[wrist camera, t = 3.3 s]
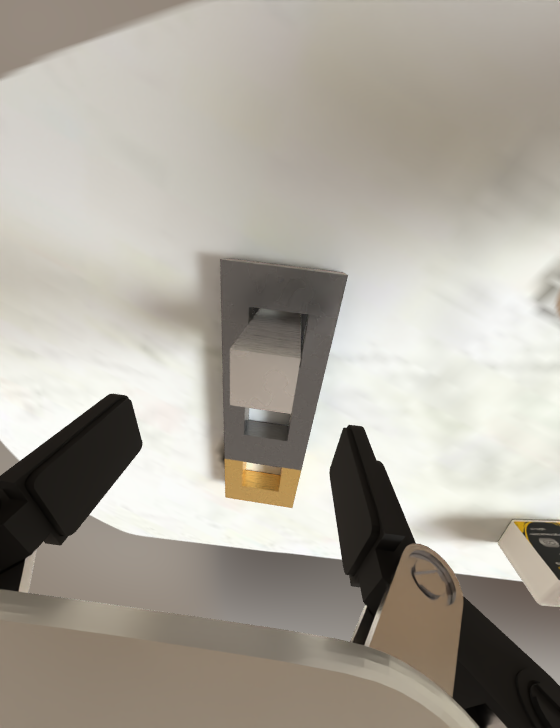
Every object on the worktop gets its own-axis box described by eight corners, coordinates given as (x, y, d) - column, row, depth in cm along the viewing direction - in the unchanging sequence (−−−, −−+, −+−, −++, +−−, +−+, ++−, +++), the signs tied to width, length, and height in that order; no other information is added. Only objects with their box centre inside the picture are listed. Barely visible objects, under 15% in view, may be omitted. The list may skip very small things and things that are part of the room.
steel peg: (260, 307, 21) (229, 348, 12) (301, 313, 21) (300, 358, 12) (258, 345, 23) (230, 405, 14) (295, 350, 23) (291, 413, 14)
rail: (229, 258, 19) (220, 259, 17) (342, 272, 19) (348, 275, 17) (230, 481, 34) (225, 497, 32) (292, 491, 34) (292, 507, 32)
